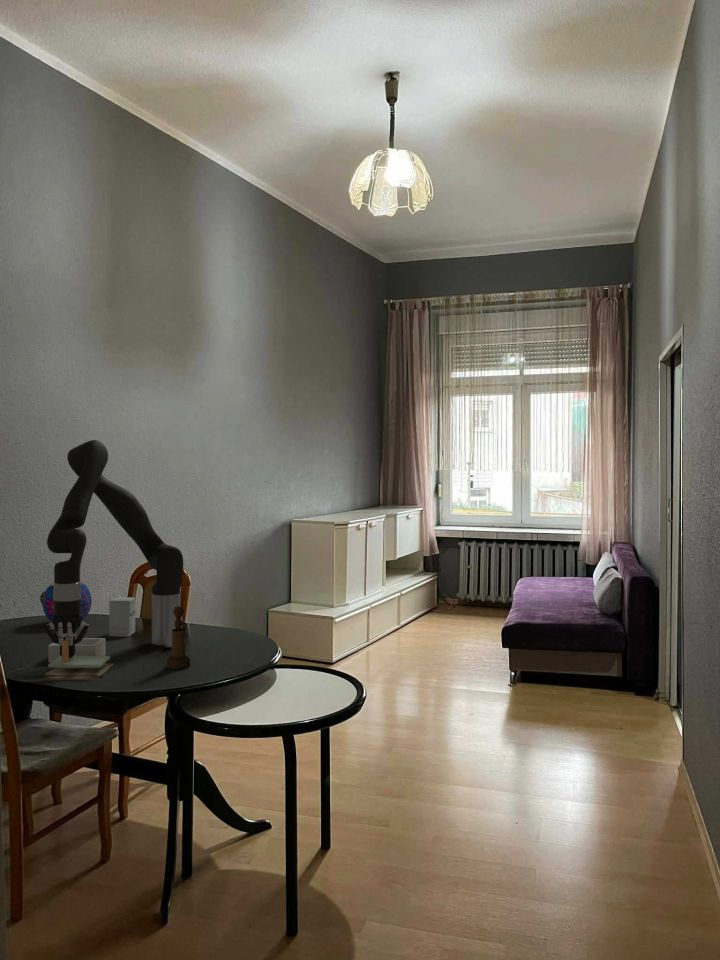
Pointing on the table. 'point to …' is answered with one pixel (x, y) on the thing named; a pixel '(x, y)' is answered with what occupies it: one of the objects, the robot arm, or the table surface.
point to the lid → (77, 659)
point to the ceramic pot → (47, 601)
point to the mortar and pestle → (178, 643)
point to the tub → (80, 648)
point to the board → (77, 672)
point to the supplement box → (122, 617)
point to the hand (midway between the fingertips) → (67, 657)
